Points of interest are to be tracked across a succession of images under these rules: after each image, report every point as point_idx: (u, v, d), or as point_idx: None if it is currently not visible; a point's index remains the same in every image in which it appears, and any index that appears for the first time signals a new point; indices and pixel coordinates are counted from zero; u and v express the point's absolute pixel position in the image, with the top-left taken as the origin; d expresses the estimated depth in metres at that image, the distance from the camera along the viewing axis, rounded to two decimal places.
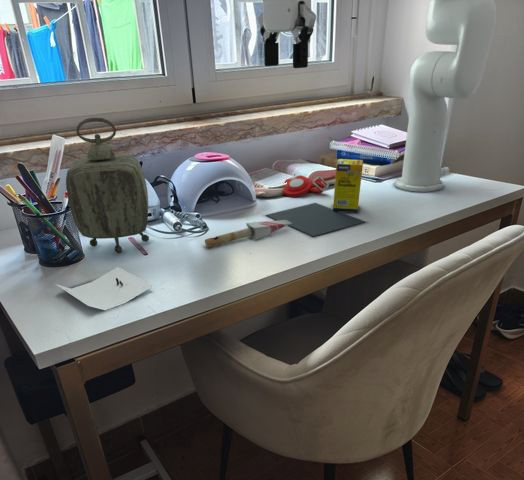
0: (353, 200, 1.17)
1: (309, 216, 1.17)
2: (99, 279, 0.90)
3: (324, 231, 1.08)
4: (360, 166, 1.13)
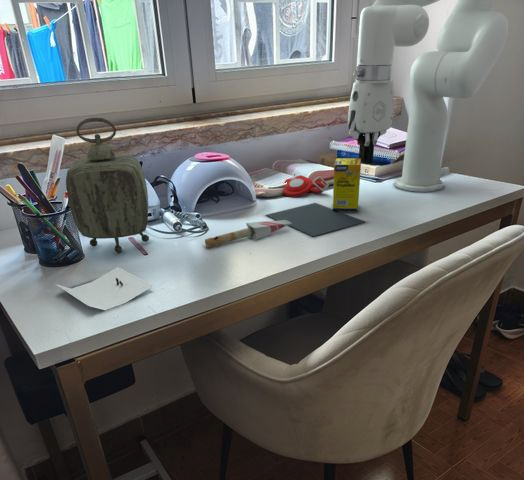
0: (352, 200, 1.17)
1: (309, 216, 1.17)
2: (99, 279, 0.90)
3: (324, 231, 1.08)
4: (358, 166, 1.12)
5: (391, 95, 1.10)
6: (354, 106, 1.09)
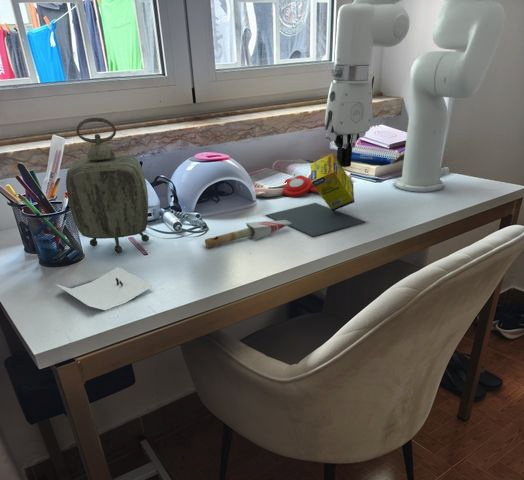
0: (345, 196, 1.15)
1: (309, 216, 1.17)
2: (99, 279, 0.90)
3: (324, 231, 1.08)
4: (333, 173, 1.09)
5: (369, 97, 1.07)
6: (331, 106, 1.05)
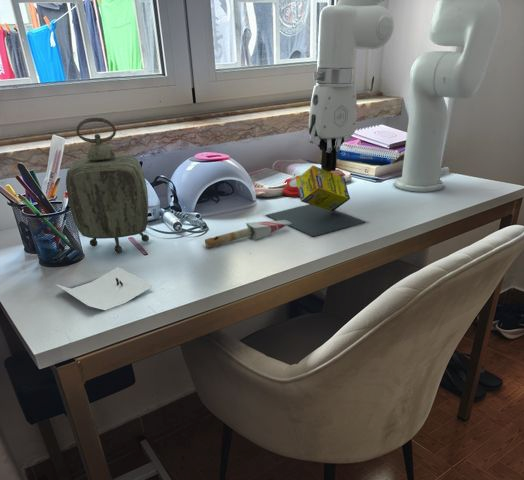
0: (339, 199, 1.14)
1: (309, 216, 1.17)
2: (99, 279, 0.90)
3: (324, 231, 1.08)
4: (318, 188, 1.08)
5: (353, 100, 1.05)
6: (314, 110, 1.04)
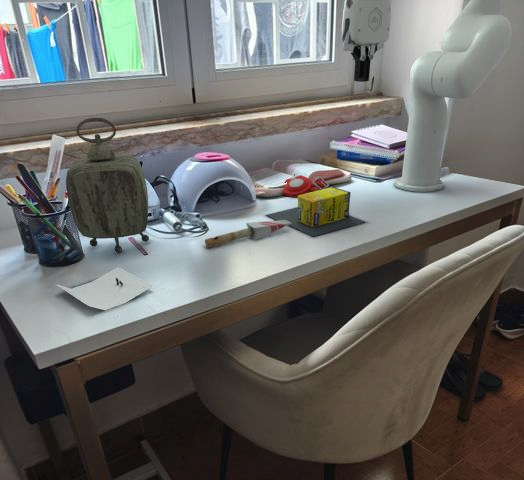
0: None
1: None
2: (99, 279, 0.90)
3: (324, 231, 1.08)
4: (313, 226, 1.10)
5: (388, 2, 1.03)
6: (348, 13, 1.01)
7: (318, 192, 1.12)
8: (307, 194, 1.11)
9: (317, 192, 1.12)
